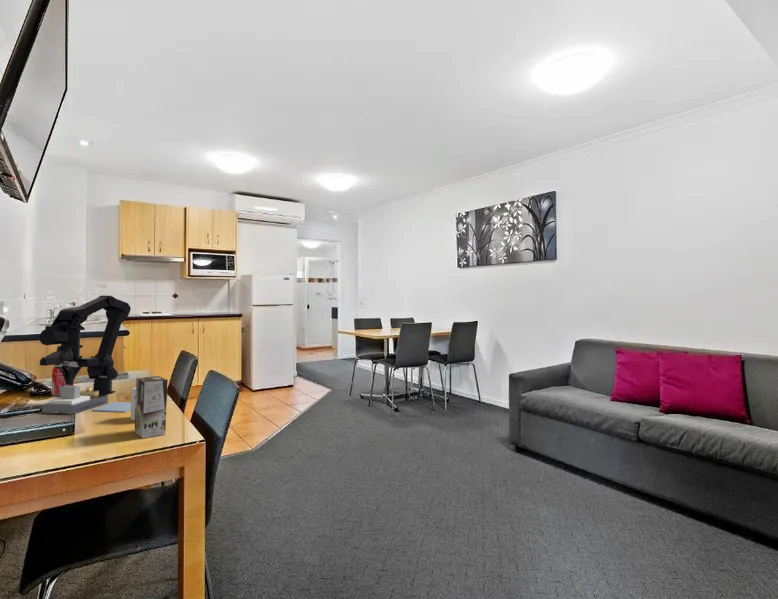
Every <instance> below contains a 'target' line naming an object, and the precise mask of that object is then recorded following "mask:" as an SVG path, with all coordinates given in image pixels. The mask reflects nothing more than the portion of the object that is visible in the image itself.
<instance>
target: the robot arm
mask: <svg viewBox="0 0 778 599" xmlns="http://www.w3.org/2000/svg"><path fill="white" fill-rule="evenodd" d="M129 304H130V303H129V302H127V301H126V302H125V301H123V300H121V299H119V298H115V297H114V296H112V295H103V294H102V295H100V296H99V295H98V297H96V298H94V299H92V300H90V301H88V302H86V303H84V304H81V305H79V306H73V307H67V308H63V309H61V310H59V311H58V313H57V316H56V317H55V319H54V320H53V322H52V324H50V325H46V326H45V327H44V329H43V330H42V331H41V332H40V334H39V335H38V339H39V340H38V341H39V342H40V344H42V345H44V346H55V345H58V346H57V348H56V351H53V352H51V353H49V354H48V355H46V356H45V357H42V358H41V359H40V360H39V366H46V367H47V366H54V365H55V366H56V367H55V366H54V367H55V368H57V369H59V370H60V371H61V373H62V374H63V377H64V379H65V382H66V384H67V385H71V384H72V382H73V380H75V378H76V377H77V375H78V373H79V372H80V370H81V369H82V368H86V371H87V374H88V380H93V385H92V386H93V387H92V391H99V395H110V394H113V393H115V392H116V390H113V380H115V379H117V378H118V375H119V372H118V371H117V370H116V369H115V367H114V363H115V361H114V359H113V352H114V348H115V344H116V342H117V339H118V335H119V332H120V329H121V327H122V326H121V325H122V324H123V322H125V321H126V320H127V318H128V317H129V315H130V313H131V311H132V310H131V309H132V308H131V305H129ZM101 310H105V315H106V316H105V317H106V319H107V322H106V326H105V327H104V328H105V329H104V332H103V335H102V339H101V340H100V344H99V348H98V350H97V353H96V354H95V355H94V356H93V355H91V356H89V357H83V355H80V353H81V352H80V351H81V348H83V344H81V331H85V330H86V328H85V327H84V326H83V325H82V324H83V323H85V322H86V321H87V320H88V318H89V316H91V315H93V314H95V313H97V312H98V311H99V312H100V311H101Z"/></svg>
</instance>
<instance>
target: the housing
mask: <svg viewBox="0 0 778 599" xmlns="http://www.w3.org/2000/svg"><path fill="white" fill-rule="evenodd" d="M108 397H109V394H107V395H99V396H96V397H90V400H86V401H83V402H79V403H76V404H72V405H68V404H49V402H46V403H42V408H41V409H42V410H41V411H42V412H41V413H42V414H51V413H53V412H58V413H75V414H74V415H76V414H78V413H82V412H86V411H88V410H92V409H95V408H98V407H101V406H104V405H107V404H109V398H108Z"/></svg>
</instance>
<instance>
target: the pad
mask: <svg viewBox="0 0 778 599" xmlns="http://www.w3.org/2000/svg"><path fill="white" fill-rule="evenodd" d="M129 411H130V412H131V401H130V402H129V401H115V402H111V403H107V404H104V405H101V406H98V407H95V408H92V409H91V412H107V413H128V412H129Z"/></svg>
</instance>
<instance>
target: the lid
mask: <svg viewBox="0 0 778 599" xmlns="http://www.w3.org/2000/svg"><path fill="white" fill-rule="evenodd" d="M80 391H81V385H73V386H63V387H61V396H60V397H56V398H53V399H49V400H48V401H49V402H48V403H49V404H68V405H72V404H76V403H79V402H83V401H86V400H90V396H80Z"/></svg>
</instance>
